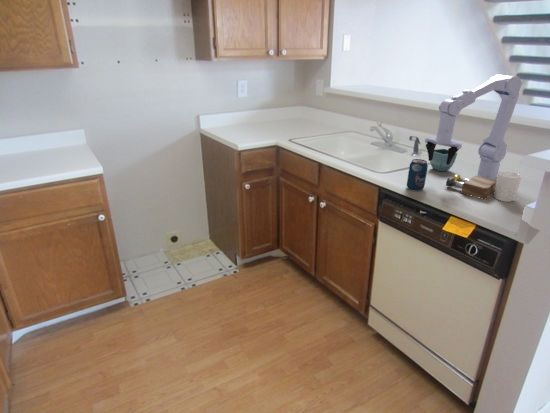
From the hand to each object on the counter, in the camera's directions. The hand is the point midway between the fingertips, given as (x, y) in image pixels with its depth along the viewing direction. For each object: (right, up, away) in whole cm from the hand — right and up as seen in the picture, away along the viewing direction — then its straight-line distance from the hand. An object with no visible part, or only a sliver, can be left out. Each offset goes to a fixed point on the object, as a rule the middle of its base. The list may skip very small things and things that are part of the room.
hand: (439, 162), depth 161 cm
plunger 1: (+7, -11, -3) cm, 14 cm away
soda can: (-11, -11, -2) cm, 16 cm away
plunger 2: (+11, -10, +1) cm, 15 cm away
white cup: (+20, -16, -11) cm, 28 cm away
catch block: (+14, -13, -5) cm, 20 cm away
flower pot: (+10, -1, +22) cm, 24 cm away
